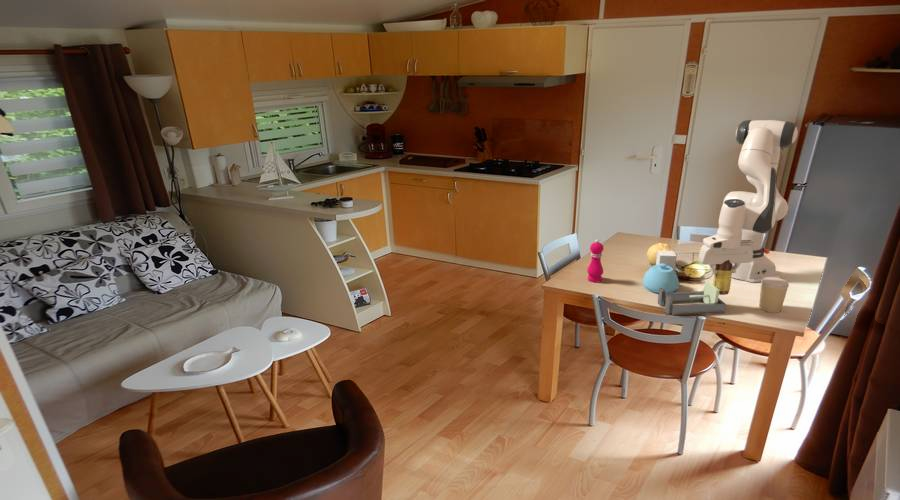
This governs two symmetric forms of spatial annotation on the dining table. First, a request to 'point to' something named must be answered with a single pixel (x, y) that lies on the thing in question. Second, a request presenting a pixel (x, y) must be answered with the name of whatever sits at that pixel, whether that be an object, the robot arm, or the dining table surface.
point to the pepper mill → (595, 262)
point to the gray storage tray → (688, 308)
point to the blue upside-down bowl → (661, 279)
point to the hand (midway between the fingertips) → (723, 273)
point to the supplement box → (666, 258)
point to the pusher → (708, 293)
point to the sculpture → (653, 252)
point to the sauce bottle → (723, 277)
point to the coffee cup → (772, 294)
